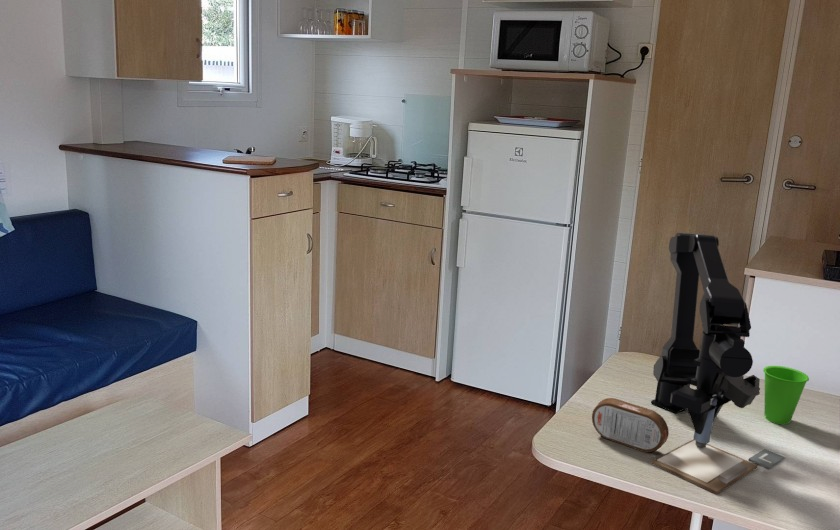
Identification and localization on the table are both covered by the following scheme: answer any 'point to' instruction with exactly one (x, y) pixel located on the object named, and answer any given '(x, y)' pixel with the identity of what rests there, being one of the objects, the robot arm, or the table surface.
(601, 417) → the tin
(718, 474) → the clipboard
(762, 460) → the letter tile
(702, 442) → the cylinder
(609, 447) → the table surface
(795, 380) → the cup
